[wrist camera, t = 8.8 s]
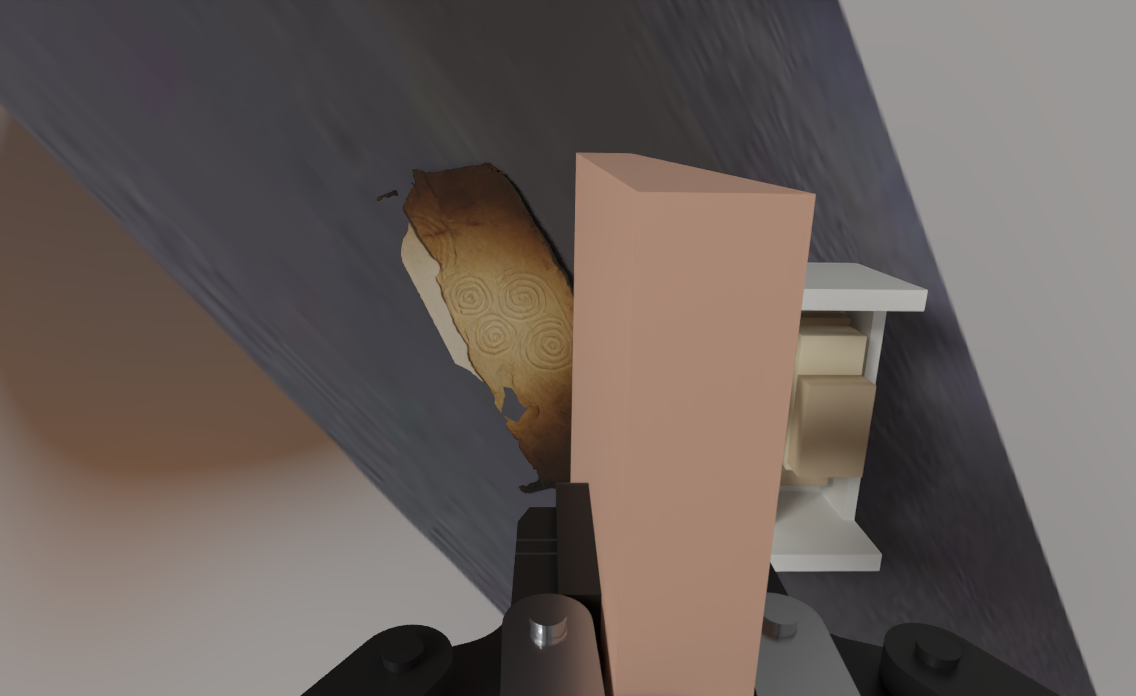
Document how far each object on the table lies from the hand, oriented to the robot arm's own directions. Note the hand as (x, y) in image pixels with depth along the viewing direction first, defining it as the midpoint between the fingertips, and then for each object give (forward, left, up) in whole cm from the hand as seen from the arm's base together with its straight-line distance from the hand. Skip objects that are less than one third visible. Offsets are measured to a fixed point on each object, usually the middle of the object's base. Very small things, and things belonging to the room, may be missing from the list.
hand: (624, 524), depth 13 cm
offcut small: (+9, +16, -27) cm, 33 cm away
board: (0, 0, -8) cm, 8 cm away
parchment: (+5, -4, -34) cm, 34 cm away
